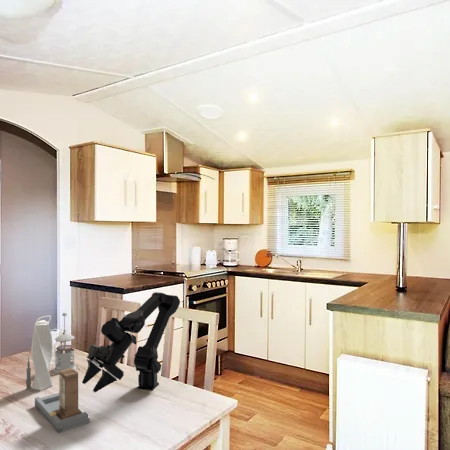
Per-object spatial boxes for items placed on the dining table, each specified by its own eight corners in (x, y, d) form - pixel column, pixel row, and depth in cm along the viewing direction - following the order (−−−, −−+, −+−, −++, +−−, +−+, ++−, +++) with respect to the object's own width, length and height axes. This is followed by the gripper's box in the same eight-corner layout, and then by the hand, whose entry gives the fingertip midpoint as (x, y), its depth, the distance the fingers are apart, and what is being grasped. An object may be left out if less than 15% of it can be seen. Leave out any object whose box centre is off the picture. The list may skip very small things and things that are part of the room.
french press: (53, 374, 168) (53, 316, 168) (51, 366, 179) (51, 311, 179) (78, 370, 173) (77, 313, 173) (74, 362, 183) (74, 308, 183)
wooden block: (56, 415, 130) (56, 371, 130) (74, 409, 134) (74, 367, 134) (62, 422, 125) (62, 376, 125) (81, 416, 129) (81, 372, 129)
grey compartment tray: (33, 406, 139) (33, 396, 139) (63, 397, 145) (63, 388, 145) (56, 433, 121) (56, 421, 121) (89, 422, 127) (89, 410, 127)
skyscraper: (43, 382, 161) (42, 313, 161) (57, 385, 157) (57, 315, 157) (25, 390, 153) (24, 318, 153) (39, 394, 150) (39, 320, 150)
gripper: (92, 329, 144) (61, 367, 137) (114, 341, 130) (82, 383, 123) (112, 346, 150) (84, 383, 142) (136, 359, 135) (106, 401, 128)
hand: (88, 387), depth 134 cm, fingers open, 9 cm apart
